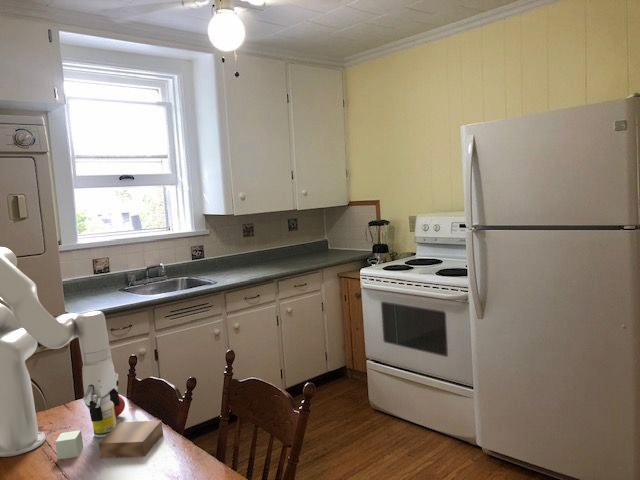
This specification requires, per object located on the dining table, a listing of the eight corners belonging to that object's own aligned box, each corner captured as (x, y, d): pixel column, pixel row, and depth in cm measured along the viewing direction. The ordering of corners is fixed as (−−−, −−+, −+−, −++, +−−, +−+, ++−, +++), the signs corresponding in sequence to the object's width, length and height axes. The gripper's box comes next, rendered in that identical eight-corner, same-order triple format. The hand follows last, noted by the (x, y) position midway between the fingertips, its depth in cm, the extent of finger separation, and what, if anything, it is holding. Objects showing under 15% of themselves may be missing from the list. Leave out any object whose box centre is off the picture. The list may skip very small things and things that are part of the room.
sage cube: (57, 459, 135) (55, 441, 135) (63, 450, 140) (61, 432, 139) (77, 456, 136) (75, 438, 135) (83, 447, 141) (80, 430, 140)
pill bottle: (101, 428, 152) (97, 392, 151) (121, 427, 151) (116, 391, 150) (89, 438, 146) (84, 400, 145) (110, 438, 145) (105, 400, 144)
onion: (119, 422, 155) (115, 396, 154) (102, 421, 156) (98, 396, 155) (129, 413, 161) (126, 388, 160) (113, 413, 162) (110, 388, 161)
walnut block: (100, 457, 134) (98, 443, 133) (122, 435, 146) (120, 422, 145) (144, 456, 133) (142, 441, 132) (163, 434, 144) (161, 420, 144)
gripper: (99, 346, 155) (109, 401, 157) (66, 367, 138) (77, 428, 140) (123, 344, 154) (132, 399, 156) (92, 365, 137) (103, 426, 139)
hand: (106, 412), depth 148 cm, fingers open, 9 cm apart
